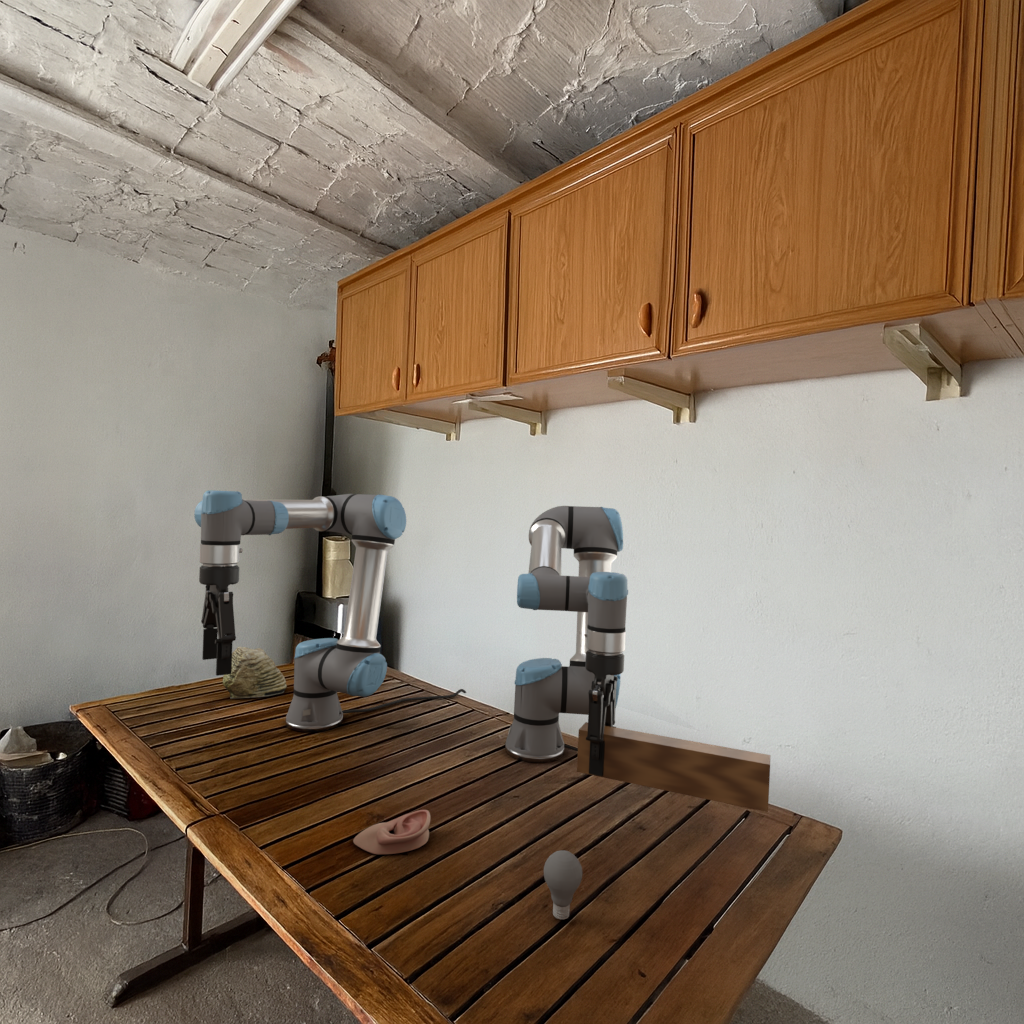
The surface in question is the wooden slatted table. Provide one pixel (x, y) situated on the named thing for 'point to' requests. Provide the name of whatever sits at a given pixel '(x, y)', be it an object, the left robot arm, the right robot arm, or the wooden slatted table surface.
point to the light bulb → (562, 880)
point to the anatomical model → (396, 834)
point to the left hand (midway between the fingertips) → (216, 666)
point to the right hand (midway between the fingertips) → (599, 768)
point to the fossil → (253, 675)
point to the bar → (682, 766)
